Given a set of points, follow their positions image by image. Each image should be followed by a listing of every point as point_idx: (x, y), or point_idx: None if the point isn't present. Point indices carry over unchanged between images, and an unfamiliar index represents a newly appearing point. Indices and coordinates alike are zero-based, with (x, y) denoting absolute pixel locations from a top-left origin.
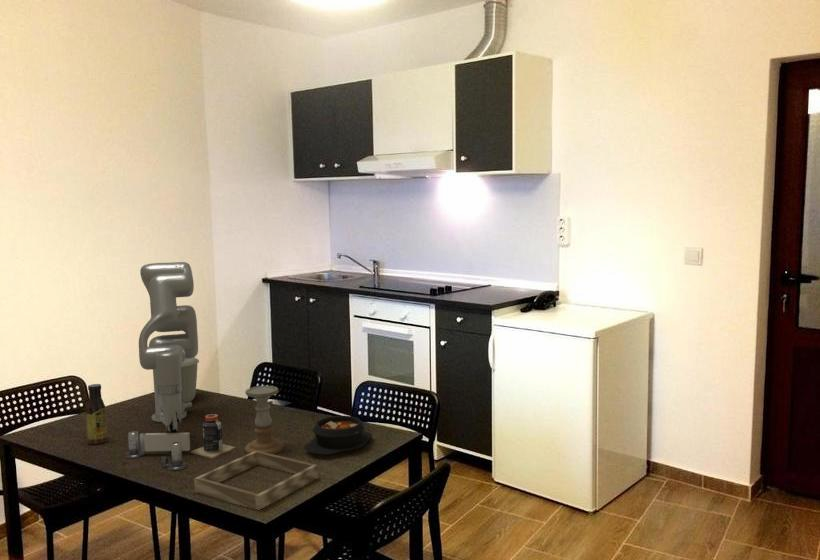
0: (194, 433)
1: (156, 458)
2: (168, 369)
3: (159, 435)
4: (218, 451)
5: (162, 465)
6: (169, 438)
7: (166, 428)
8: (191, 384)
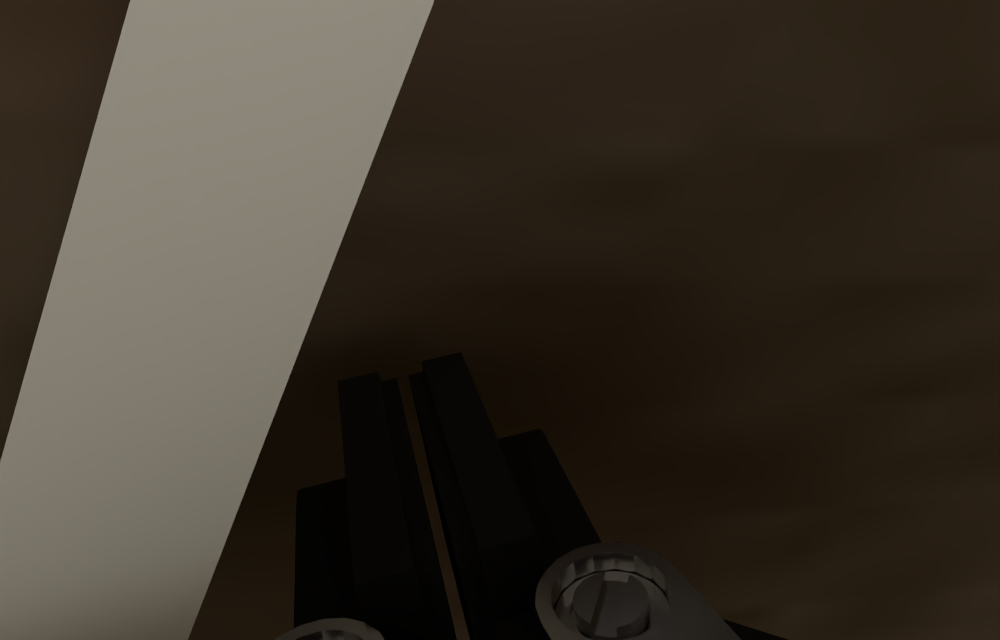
0: (996, 608)
1: (6, 24)
2: None
3: (61, 305)
4: None
5: None
6: None
7: (663, 582)
8: None
